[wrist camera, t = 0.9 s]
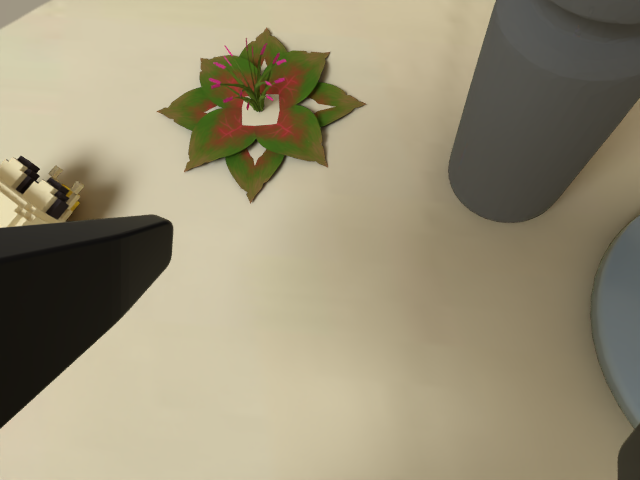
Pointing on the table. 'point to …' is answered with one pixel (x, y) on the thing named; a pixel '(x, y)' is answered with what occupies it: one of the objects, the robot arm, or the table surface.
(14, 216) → the cat figure
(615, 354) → the dish
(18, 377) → the robot arm
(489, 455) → the table surface
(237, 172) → the lily flower
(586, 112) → the bottle
